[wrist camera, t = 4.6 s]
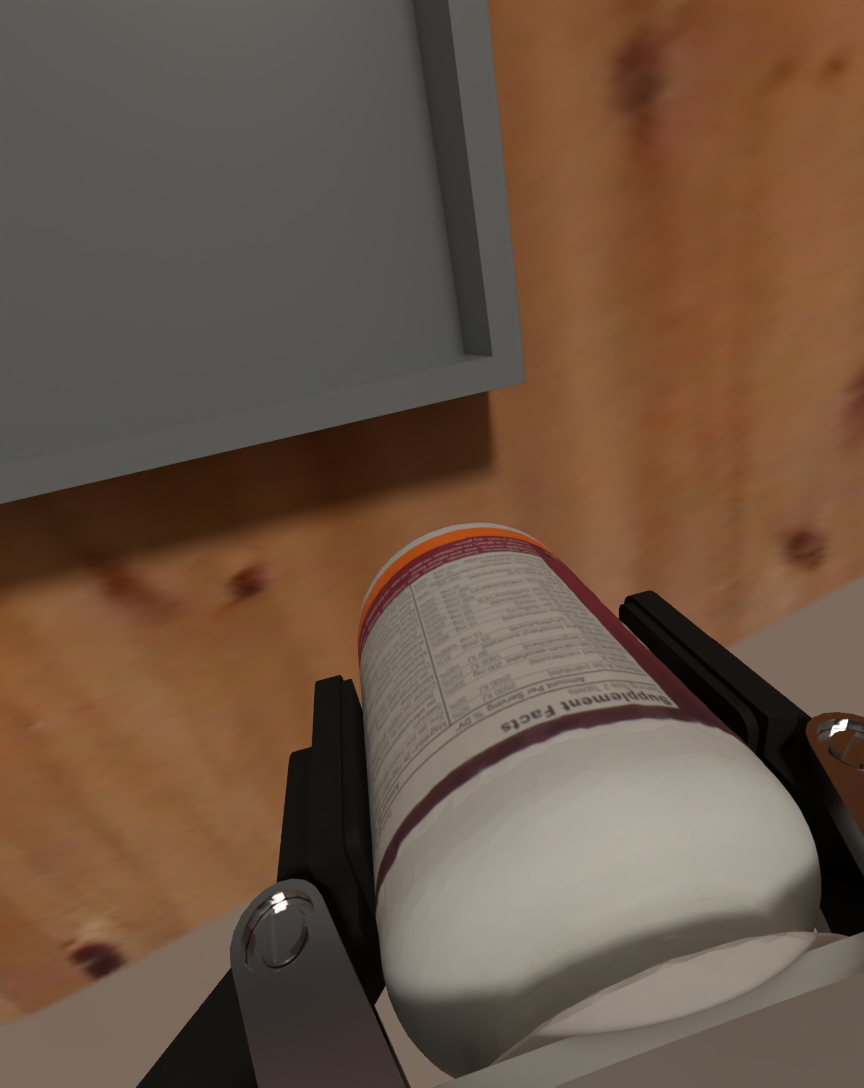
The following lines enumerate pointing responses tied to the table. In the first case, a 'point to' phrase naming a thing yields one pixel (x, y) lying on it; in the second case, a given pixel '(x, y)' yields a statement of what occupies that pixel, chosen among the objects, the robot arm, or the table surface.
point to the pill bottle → (557, 813)
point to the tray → (242, 226)
